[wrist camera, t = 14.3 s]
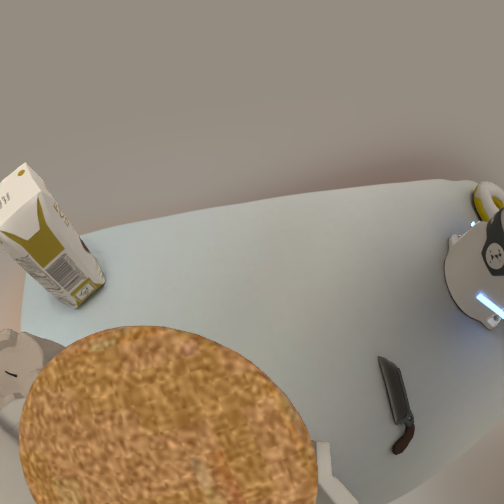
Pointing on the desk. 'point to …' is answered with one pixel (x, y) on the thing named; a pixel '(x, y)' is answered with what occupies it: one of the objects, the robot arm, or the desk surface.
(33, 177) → the juice carton
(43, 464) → the bottle
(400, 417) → the knife
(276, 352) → the desk surface
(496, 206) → the donut
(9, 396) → the candle
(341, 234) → the desk surface
